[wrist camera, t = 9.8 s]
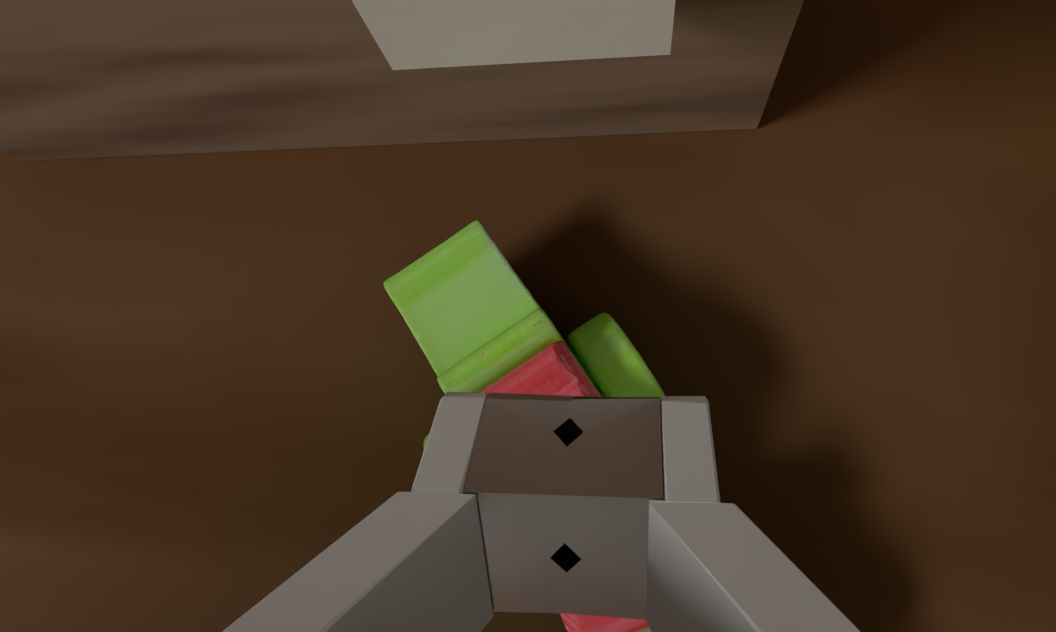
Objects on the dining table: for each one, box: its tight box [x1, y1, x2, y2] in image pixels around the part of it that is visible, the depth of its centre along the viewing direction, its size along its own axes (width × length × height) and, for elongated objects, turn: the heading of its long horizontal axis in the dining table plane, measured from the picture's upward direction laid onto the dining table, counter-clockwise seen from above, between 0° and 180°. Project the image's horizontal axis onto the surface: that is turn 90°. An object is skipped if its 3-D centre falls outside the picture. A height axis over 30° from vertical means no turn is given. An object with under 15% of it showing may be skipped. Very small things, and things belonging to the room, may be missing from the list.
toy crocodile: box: [384, 220, 665, 632], centre depth 21 cm, size 20×7×6 cm, turn 29°
